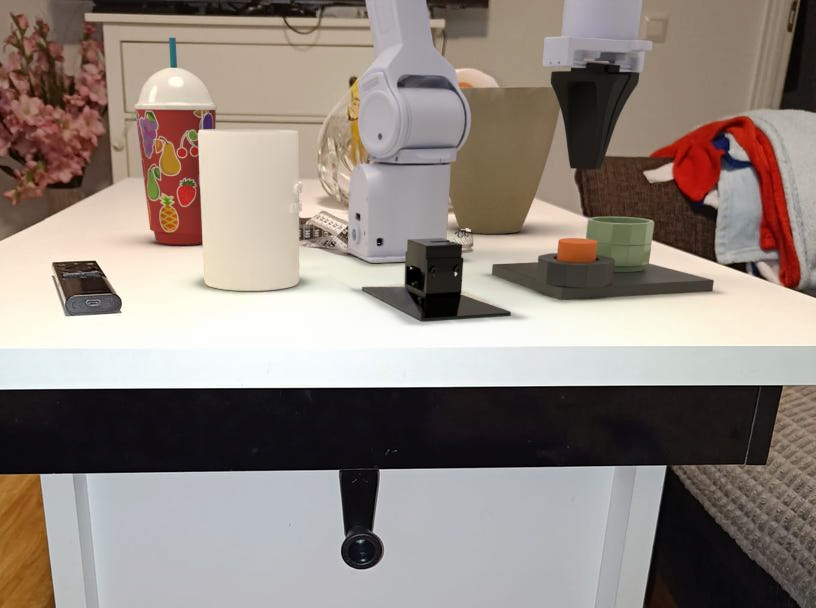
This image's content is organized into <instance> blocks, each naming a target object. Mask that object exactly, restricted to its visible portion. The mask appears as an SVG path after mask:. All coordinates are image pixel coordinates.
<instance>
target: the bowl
mask: <svg viewBox="0 0 816 608" xmlns="http://www.w3.org/2000/svg"><path fill="white" fill-rule="evenodd" d="M654 229H655V221H654V220H653V219H648V218H642V217H630V216H593V217H588V218H587V224H586V233H585V239H591V240H596V241H597V242H598V243H597V252H596V255H601V256H606V257H610V258H613V259H614V260H615V268H614V272H637V271H642V270H644V269H645V265H647V264H650V260H651V259H650V258H651V251H652V243H653V238H654V237H653V236H654Z"/></svg>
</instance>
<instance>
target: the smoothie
mask: <svg viewBox="0 0 816 608" xmlns="http://www.w3.org/2000/svg"><path fill="white" fill-rule="evenodd" d="M168 44H169V46H168V47H169V64H170V65H169V67H166V68H165V67H164V68H163V69H160V70H158V71H157V72H155V73H153V74H152V75H150V76H149V77H148V78H147V80H146V81H145V82H144V84H143V86H142V87H141V89H140V92H139V95H138V98H137V102H136V103H134V105H133V107H134V108H133V109H134V110H135V119H136V126H137V128H136V129H137V135H138V143H139V151H140V158H141V159H140V160H141V168H142V176H143V183H144V193H145V201H146V206H147V215H148V224H149V230H150V231H152V232H153V233H154V238H155V241H156V242H157V243H159V244H160V245H166V246H194V245H195V246H196V245H201V244H202V245H203V240H202V217H201V195H200V172H199V149H198V132H199V130H204V129H217V110H218V106H217V104H215V102H214V101H213V98H212V95H211V93H210V91H209V89H208V88H207V85H206V84H205V83H204V82H203V81H202V80H201V78H199V77H198V76H197V75H196V74H194V73H193V72H191V71H189V70H187V69H185V68H182V67H178V58H177V40H176V37H168Z"/></svg>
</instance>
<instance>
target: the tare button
mask: <svg viewBox="0 0 816 608" xmlns="http://www.w3.org/2000/svg"><path fill="white" fill-rule="evenodd" d="M597 243H598V242H597V241H596V240H591V239H586V238H579V237H567V238H566V237H565V238H559V239H558V243H557V252H556V253H557V260H561V261H569V262H595V261H596V252H597Z"/></svg>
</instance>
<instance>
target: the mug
mask: <svg viewBox="0 0 816 608" xmlns="http://www.w3.org/2000/svg"><path fill="white" fill-rule="evenodd" d="M299 135H300V134H299V132H298V130H297V129H296V130H295V129H276V128H275V129H274V128H273V129H269V128H267V129H266V128H264V129H263V128H216V129H204V130H199V132H198V149H199V172H200V195H201V217H202V240H203V244H202V258H203V259H202V260H203V261H202V262H203V280H204V283H205V285H206V286H208V287H210V288H214V289H219V290H225V291H236V292H237V291H238V292H263V291H276V290H282V289H283V290H285V289H287V288H292V287H295V286H297V285H298V284H299V282H300V213H301V212H302V211H303V200H301V199H300V194H302V193H303V182H302V181H300V151H299V149H300V146H299V145H300V144H299V143H300V142H299V141H300V139H299V137H300V136H299Z"/></svg>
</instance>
